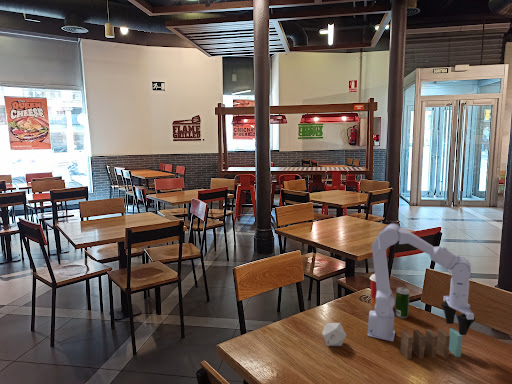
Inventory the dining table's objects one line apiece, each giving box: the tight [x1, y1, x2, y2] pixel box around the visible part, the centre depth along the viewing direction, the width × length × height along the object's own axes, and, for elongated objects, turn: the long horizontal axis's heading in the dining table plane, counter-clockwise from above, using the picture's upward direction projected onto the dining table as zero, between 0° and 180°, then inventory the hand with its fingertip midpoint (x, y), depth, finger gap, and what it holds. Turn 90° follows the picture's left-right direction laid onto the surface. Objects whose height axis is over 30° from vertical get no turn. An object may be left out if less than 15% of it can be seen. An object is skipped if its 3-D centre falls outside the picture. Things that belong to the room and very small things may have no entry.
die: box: [321, 322, 347, 347], centre depth 136 cm, size 8×9×10 cm
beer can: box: [394, 286, 410, 319], centre depth 157 cm, size 5×5×12 cm
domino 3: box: [424, 328, 438, 359], centre depth 129 cm, size 2×5×8 cm, turn 4°
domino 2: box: [412, 329, 425, 359], centre depth 129 cm, size 2×5×8 cm, turn 4°
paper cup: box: [369, 273, 377, 308], centre depth 167 cm, size 8×8×14 cm
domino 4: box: [436, 328, 450, 358], centre depth 129 cm, size 2×5×8 cm, turn 4°
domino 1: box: [400, 329, 413, 360], centre depth 129 cm, size 2×5×8 cm, turn 3°
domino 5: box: [448, 327, 464, 358], centre depth 130 cm, size 2×5×8 cm, turn 4°
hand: (456, 328), depth 129 cm, fingers open, 7 cm apart
